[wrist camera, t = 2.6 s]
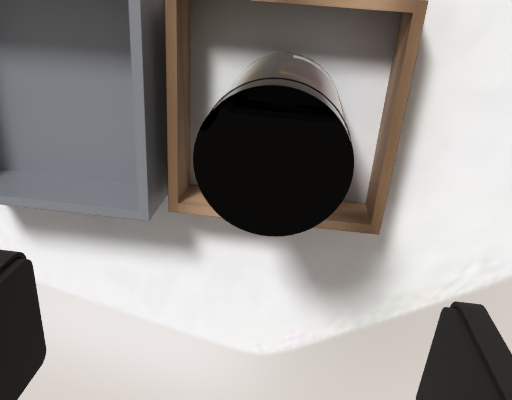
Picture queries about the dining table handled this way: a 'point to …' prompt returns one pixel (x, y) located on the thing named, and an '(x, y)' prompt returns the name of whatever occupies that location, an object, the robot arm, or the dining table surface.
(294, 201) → the supplement container
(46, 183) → the bin
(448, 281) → the dining table surface
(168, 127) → the frame
